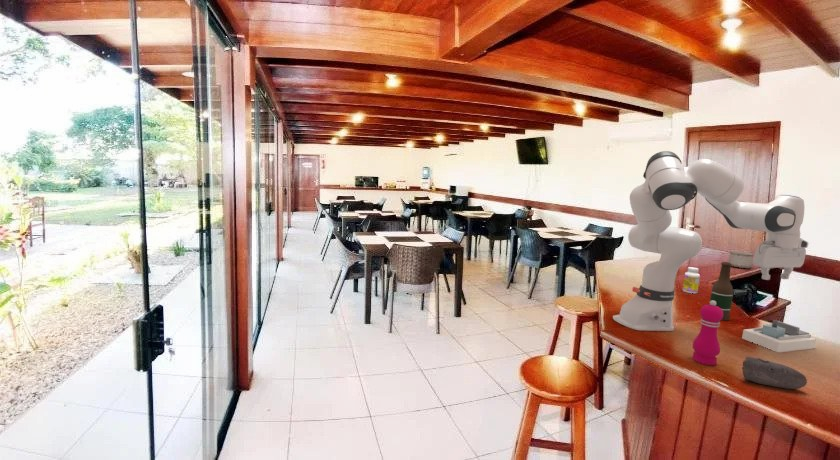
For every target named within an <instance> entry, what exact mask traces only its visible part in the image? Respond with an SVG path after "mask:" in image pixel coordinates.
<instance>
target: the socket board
mask: <svg viewBox="0 0 840 460" xmlns="http://www.w3.org/2000/svg"><path fill="white" fill-rule="evenodd" d="M762 330H763V326H762V327H761V326H760V327H754V328H747V329H743V331H742V335H741V336H742V337H741V339H742V340H745V341H748V342H750V343H752V342H753V343H752V344H755V345H757V344H758V345H757V346H760V345H761V346H760V347H762V346H764V347H763V348H765V347H766V348H765V349H767V348H768V350H770V349H771V351H772V352H775V353H786V352H795V351H805V350H813V349H815V346H816V342H817V341H816V340H817V339H816V338H814V337H811V336H812V334H810V333H809V334H805V335H794V336H792V335H790V334H787V333H785V335H784V337H778V339H776V338H773V337H770V336H767V335H765V334H762Z"/></svg>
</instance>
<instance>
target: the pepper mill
mask: <svg viewBox="0 0 840 460" xmlns="http://www.w3.org/2000/svg"><path fill="white" fill-rule="evenodd" d="M709 304H710V305H709ZM709 304H704V305H703V306H701V307H700V310H699V316H701V318H700V324H701V325H700V326H701V327H700V330H699V333H698V334H697V336H696V337H695V338H694V340H693V342H692V349H693V350H694V351H693V354H692V359H693V360H694V361H696V362H697V363H700V364H703V365H707V366H715V365H716V364H717V361H718V358H717V356H718V355H720V353H721V345H720V343H719V339H718V329H719V327H720V326H721V322H720V321H722V320H721V319H722V318H723V311H722V309H721V308H719V307H718V306H715V305H716V304H717V303H716V301H714V300H712V301H710V300H709Z"/></svg>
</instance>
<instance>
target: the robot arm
mask: <svg viewBox="0 0 840 460" xmlns="http://www.w3.org/2000/svg"><path fill="white" fill-rule="evenodd" d="M642 177H643V178H644V180H645V181H644V183H642V184H640V185H637V186H636V187H634V188H633V189H632V190H631V192H630V194H629V202H630V203H629V204H630V208H631V210H632V213H633V215H634V219H635V220H636V222H637V224H635V225H633V227H631V228H630V230H629V232H628V235H627V237H628V238H627V239H628V243H629V245H630V246H631V247H632V248H634V249H637V250H640V251H642V252H649V253H653V254H660V258H659V260H658V261H657V260H656V261H653V262H649V263H648V264H646V265H645V266H644V268H643V271H642V272H643V273H642V278H641V285H639V287H636V286H633V287H632V288H631V291H632V292H633V293H636V294H635V295H634V296H633V297H632V298H630V299H628V301H625V303H623V304H622V305H621V307H620V311H619V314H615V315H612V319H613V320H614V321H615V322H616V323H618V324H620V325H623V326H625V327H626V328H629V329H632V330H636V331H646V332H647V331H648V332H649V331H654V332H655V331H657V332H661V331H662V332H664V331H665V332H668V331H669V332H674V331H675V327H674V308H673V307H674V306H673V301H674V300H675V299H674V297H675V290H674V288H675V283H676V278H677V273H678V271H679V269H680V268H681V267H682V265H683V264H684V263H685V262H686V261H688V260H689V259H692V258H694V257H695V256H697V255H698V254H700V252H701V250H702V248H703V238H702V237H701V235H700V233H698V232H697V231H693V230H691V229H687V228H681V227H674V226H671V224H672V221H673V220H672V218H673V217H672V214H671V212H670V211H675V210H679V209H681V208H683V207H684V206H685V205H687V204H689V202H691V201H692V200H693V199H695V197H697V194H699V195H700V196H702V197H703V198H704V199H705V200H706V201H707V203H708V204H709V205H710V206H712V207H713V208H714V209H715V210H716V211H718V213H720V215H722V216H723V217H724V219H725V221H726V223H727V224H728V225H729V226H730V227H731V228H733V229H743V230H749V231H750V230H751V231H758V232H766V237H765V240H763V241H762V242H761V243H760V244H759V245H758V246H757V248H756V250H755V252H754V254H753V259H752V264H753V266H754V267H758V268H760V272H761V274H762V275H761V279H762V280H765V281H770V280H771V274H769V273H770V270H771V268H772V269H773V268H776V269H777V268H783V269H784V270H783V272H782V273H780V279H782V280H789V278H790V275H791V274H792V272H793V271H794V268H801V267H802V266H803V265H804V263H805V260H806V259H805V258H806V255H807V250H806V249H807V248H808V247H809V242H808V241H807V240H805V239H803V238H801V226H802V225H803V222H804V217H805V201H804V199H803V198H802V197H800V196H797V195H796V196H795V195H792V194H791V195H790V194H789V195H788V194H778V195H776V196H775V198H774V200H772V201H770V202H767V203H760V202H748V201H742V200H738V199H739V198H740V197H741V196H742V193H744V189H745V183H744V181H743V179H742V178H741V176H739V175H738V174H737V173H736V172H735V171H733V170H731V169H730V168H729V167H727V166H725V165H724V164H721V163H719V162H718V161H714V160H712V159H708V158H700V159H697V160H695V161H693V162H692V163H690V165H688V166H683V162H682V160H681V158H680V157H679V156H678V155H677V153H675V152H673V151H669V150H664V151H663V150H662V151H659V152H657V153H655V154H653V155H652V156H651V157H649V158H648V161H647V163H646V166H645V169H644V172H643V175H642Z"/></svg>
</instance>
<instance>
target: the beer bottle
mask: <svg viewBox="0 0 840 460" xmlns="http://www.w3.org/2000/svg"><path fill="white" fill-rule="evenodd" d="M720 265H721V268H720V272H719V275H718V279H717V280H716V281H715V282H714V283H713V285H712V287H711V292H710V300H709V302H710V301H712V300H714V301H716V303H717V304H716V305H715V306H718V307H719V308H721V309H722V311H723V318H722V319H721V320H720V321H729V320H730V316H731V309H732V304H733V303H732V302H733V297H734V289H733V288H734V287H733V285H732V283H731V281H730V280H731V268H732V267H733V266H732V264H731V263H729V261H721V263H720ZM708 305H710V303H709V304H708Z"/></svg>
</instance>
